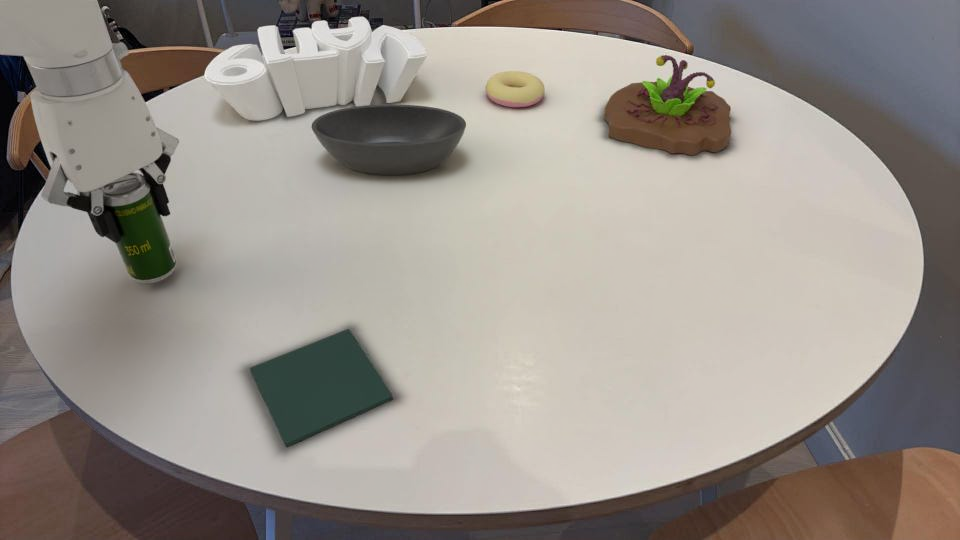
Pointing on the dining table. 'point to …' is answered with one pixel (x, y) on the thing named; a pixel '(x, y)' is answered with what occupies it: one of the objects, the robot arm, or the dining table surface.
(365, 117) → the bowl
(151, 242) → the beer can
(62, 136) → the robot arm
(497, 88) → the donut
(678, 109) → the plant
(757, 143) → the dining table surface
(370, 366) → the front mat
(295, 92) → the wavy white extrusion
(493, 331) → the dining table surface
